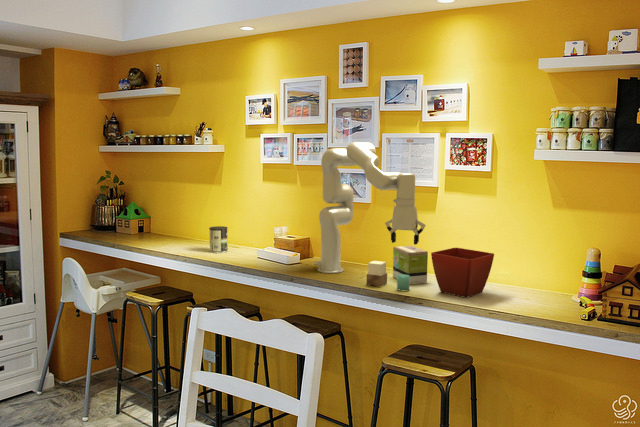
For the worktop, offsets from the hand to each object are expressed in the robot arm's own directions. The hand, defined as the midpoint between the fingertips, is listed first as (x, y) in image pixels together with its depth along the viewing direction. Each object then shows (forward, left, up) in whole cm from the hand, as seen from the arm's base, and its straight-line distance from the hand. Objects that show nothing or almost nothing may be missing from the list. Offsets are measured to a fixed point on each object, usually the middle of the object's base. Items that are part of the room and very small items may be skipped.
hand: (404, 243), depth 233 cm
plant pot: (+23, +7, -20) cm, 31 cm away
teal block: (0, 0, -20) cm, 20 cm away
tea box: (-3, +18, -20) cm, 27 cm away
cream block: (-13, +3, -15) cm, 20 cm away
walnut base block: (-13, +3, -20) cm, 24 cm away
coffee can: (-122, +33, -20) cm, 128 cm away
